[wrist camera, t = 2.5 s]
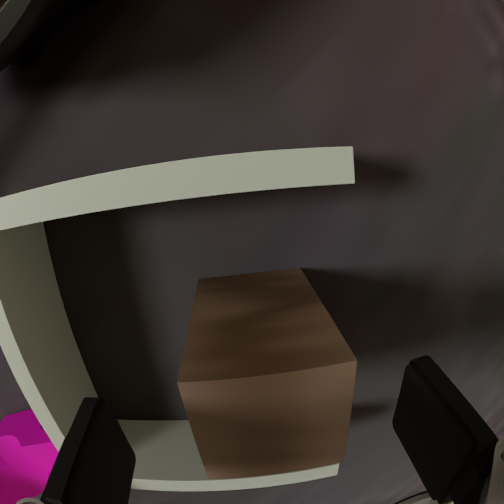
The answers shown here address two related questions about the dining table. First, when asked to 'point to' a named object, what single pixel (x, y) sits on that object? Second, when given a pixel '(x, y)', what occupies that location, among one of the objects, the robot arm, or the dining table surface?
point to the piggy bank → (28, 27)
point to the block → (265, 376)
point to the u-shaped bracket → (56, 321)
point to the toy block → (24, 457)
